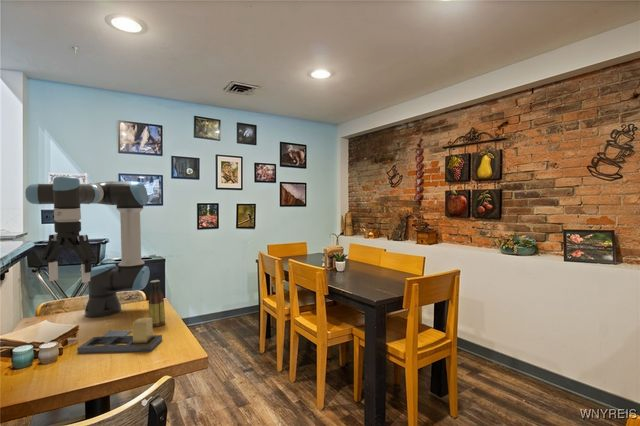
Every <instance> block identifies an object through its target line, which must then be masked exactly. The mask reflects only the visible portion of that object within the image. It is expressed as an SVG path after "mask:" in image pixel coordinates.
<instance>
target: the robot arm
mask: <svg viewBox="0 0 640 426" xmlns="http://www.w3.org/2000/svg"><path fill="white" fill-rule="evenodd" d="M52 180H53V181H52V182H53V183H35V184H34V183H32V184H31V183H30V184H29V185H28V186H27V187H26V188H25V191H24V193H25V198H26V200H27V202H28V203H30V204H32V205H53V217H54V219H53V220H54V221H55V222H54V224H53V225H54V226H53V227H54V233H55V234H49V235H48V241H47V244H46V246H45V249H44V251H43V255H42V257H41V260H42V261H45V262H46V263H47V271H48V281H49V282H53V281H57V280H59V268H58V267H59V265H58V263H59V262H58V260H57V259H58V257H59V256H60V254H61V253H62V252H63V250H64V249H65V248H67V249H70V248H71V249H72V250H73V251H74V252H75V254H76V255H77V256H78V257H79V259H80V261H81V262H82V263H81V264H80V265H81V267H80V269H81V270H80V272H81V283H82V284H85V283H87V284H88V285H87V287H88V288H87V289H88V290H87V291H88V300H87V303H86V305H85V308H84V316H85V317H88V318H99V317H105V316H106V317H107V316H110V315H114V314H116V313H119V312H121V310H122V305H121V302H120V299H119V297H118V292H122V291H124V292H126V291H141V290H143V289H145V288H146V286H147V284H148V283H149V279H150V268H149V266H147V265H145V264H146V263H145V261H144V260H143V259H142V239H141V237H142V236H141V235H142V234H141V212H142V211H143V209H144V206H145V205H147V203H148V199H149V198H148V191H147V189H146V187H145V185H144V184H143V183H142V182H141V181H135V180H134V181H132V180H131V181H129V180H128V181H126V180H125V181H102V182H90V183H81V182H80V179H79V178H78V177H76V176H74V177H73V176H56V177H54V178H53V179H52ZM91 204H92V205H93V204H94V205H95V204H97V205H106V206H108V205H109V206H116V210H117V211H118V212H119V214H120V245H121V246H120V247H121V248H120V251H121V252H120V253H121V255H120V256H121V261H120V262H119V263H118V264H117V265H116V263H108V264H102V265H98V266H95V267H92V264H93V262H96V261H97V257H96V255H95V252H94V250H93V248H92V246H91V243H90V241H89V236H88V234H80V232H82V222H81V221H80V220H81V219H82V213H81V205H91ZM71 249H70V250H71Z"/></svg>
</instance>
